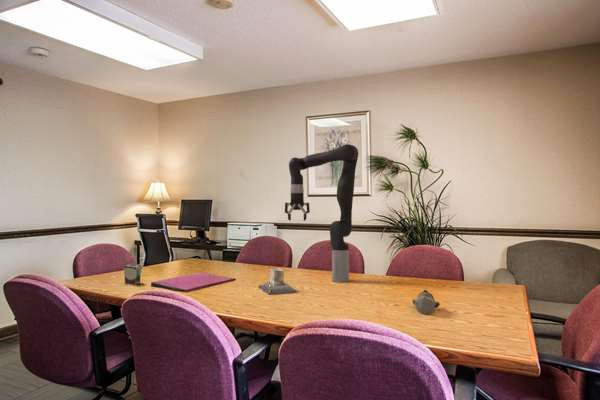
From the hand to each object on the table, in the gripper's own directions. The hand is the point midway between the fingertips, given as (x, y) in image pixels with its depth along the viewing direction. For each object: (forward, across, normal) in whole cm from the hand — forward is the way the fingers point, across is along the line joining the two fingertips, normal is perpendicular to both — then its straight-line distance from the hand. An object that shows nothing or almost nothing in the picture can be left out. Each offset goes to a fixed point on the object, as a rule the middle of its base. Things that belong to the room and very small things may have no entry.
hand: (297, 220), depth 231 cm
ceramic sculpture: (+34, +62, -61) cm, 94 cm away
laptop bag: (+34, -54, -24) cm, 68 cm away
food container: (+33, -85, -27) cm, 95 cm away
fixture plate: (+33, -5, -32) cm, 46 cm away
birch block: (+32, -5, -32) cm, 46 cm away
